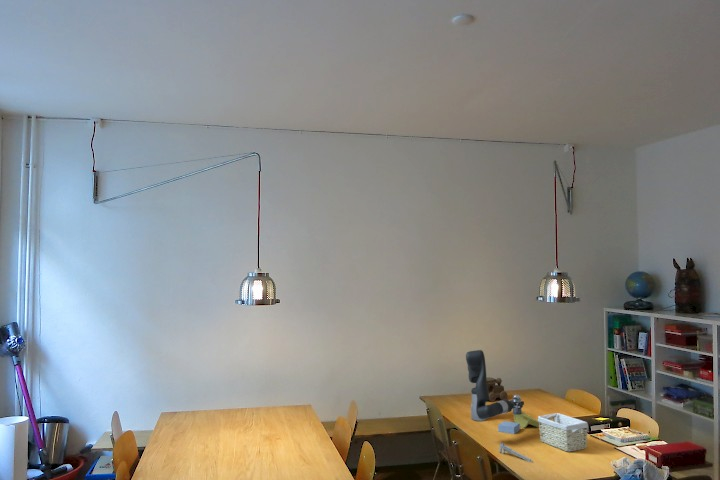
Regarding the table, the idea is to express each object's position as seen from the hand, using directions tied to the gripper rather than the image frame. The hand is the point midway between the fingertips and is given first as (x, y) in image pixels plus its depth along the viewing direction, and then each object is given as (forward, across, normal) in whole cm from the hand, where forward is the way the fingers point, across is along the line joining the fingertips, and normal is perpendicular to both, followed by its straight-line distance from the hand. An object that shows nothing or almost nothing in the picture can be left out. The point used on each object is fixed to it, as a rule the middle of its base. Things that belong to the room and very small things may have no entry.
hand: (519, 402), depth 330 cm
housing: (-3, 0, +6) cm, 7 cm away
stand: (-4, +5, +18) cm, 19 cm away
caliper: (-42, -26, +18) cm, 52 cm away
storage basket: (-6, -32, +18) cm, 37 cm away
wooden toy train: (+54, +60, +18) cm, 83 cm away
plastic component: (+15, +6, +18) cm, 24 cm away
